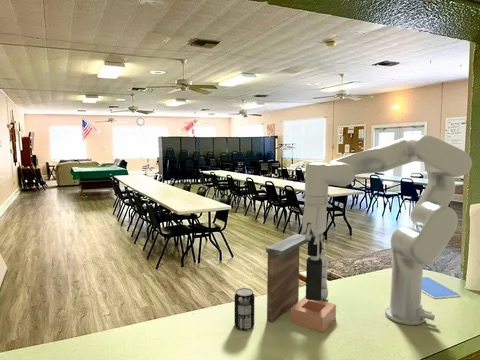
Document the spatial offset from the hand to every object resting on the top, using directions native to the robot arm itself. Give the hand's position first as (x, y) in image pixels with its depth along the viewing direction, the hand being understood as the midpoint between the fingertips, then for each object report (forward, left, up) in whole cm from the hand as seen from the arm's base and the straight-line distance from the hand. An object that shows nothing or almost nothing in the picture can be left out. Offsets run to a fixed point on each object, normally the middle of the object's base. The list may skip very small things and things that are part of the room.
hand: (314, 253), depth 119 cm
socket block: (0, 0, -23) cm, 23 cm away
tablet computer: (-29, -54, -24) cm, 66 cm away
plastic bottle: (+5, -17, -24) cm, 30 cm away
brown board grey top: (+9, 0, -23) cm, 25 cm away
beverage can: (+17, +17, -24) cm, 34 cm away
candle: (0, 0, -15) cm, 15 cm away
